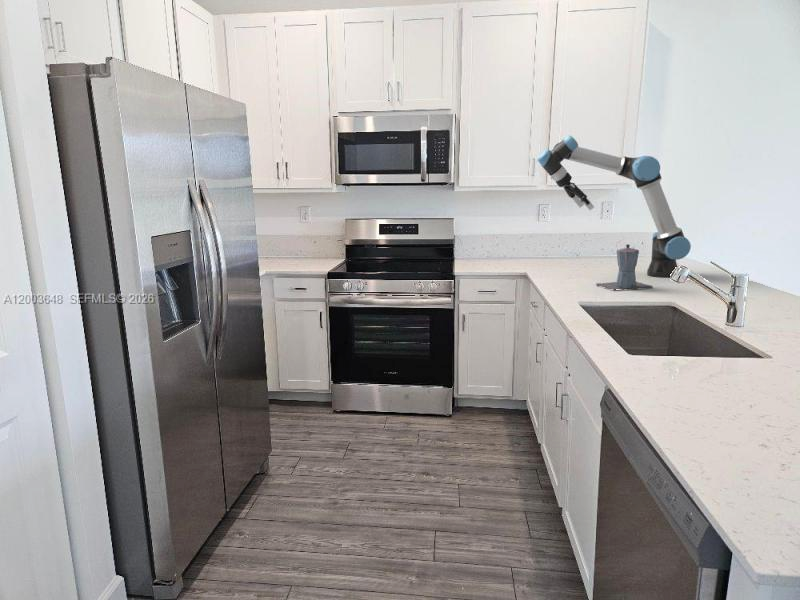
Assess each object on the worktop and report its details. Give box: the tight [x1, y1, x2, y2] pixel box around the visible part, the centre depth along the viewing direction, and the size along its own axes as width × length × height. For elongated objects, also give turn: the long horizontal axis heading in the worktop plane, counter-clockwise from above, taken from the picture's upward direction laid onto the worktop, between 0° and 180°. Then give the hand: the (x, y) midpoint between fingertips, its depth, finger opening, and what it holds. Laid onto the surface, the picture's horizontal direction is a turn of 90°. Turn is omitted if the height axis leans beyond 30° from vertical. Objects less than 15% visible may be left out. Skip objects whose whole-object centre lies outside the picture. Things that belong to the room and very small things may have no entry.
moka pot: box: [616, 244, 640, 288], centre depth 245 cm, size 10×15×20 cm, turn 160°
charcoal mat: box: [595, 281, 653, 290], centre depth 252 cm, size 20×15×1 cm
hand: (586, 207), depth 269 cm, fingers open, 13 cm apart
